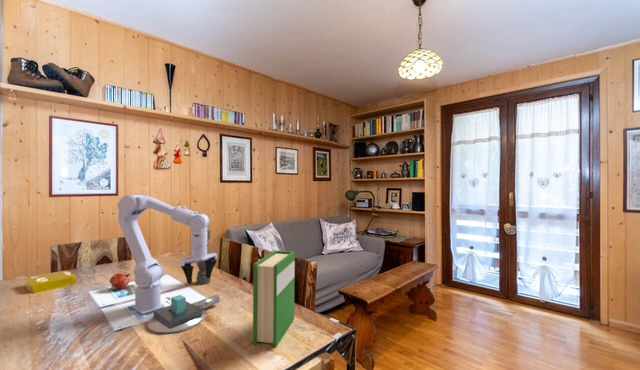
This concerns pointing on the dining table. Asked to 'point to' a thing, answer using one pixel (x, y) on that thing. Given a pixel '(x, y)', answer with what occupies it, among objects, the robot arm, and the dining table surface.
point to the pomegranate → (119, 281)
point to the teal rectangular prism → (178, 304)
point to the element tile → (50, 281)
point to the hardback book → (273, 296)
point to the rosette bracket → (180, 317)
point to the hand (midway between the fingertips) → (199, 280)
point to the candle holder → (203, 267)
